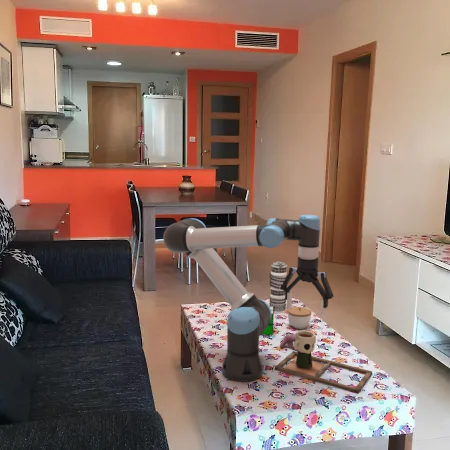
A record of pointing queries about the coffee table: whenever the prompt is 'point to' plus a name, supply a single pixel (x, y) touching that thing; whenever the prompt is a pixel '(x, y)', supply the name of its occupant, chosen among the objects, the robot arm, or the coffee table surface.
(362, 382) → the rail frame
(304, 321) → the lidded jar
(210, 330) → the coffee table surface
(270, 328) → the puzzle cube
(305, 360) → the character mug
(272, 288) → the decorative candle
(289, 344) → the video game controller
